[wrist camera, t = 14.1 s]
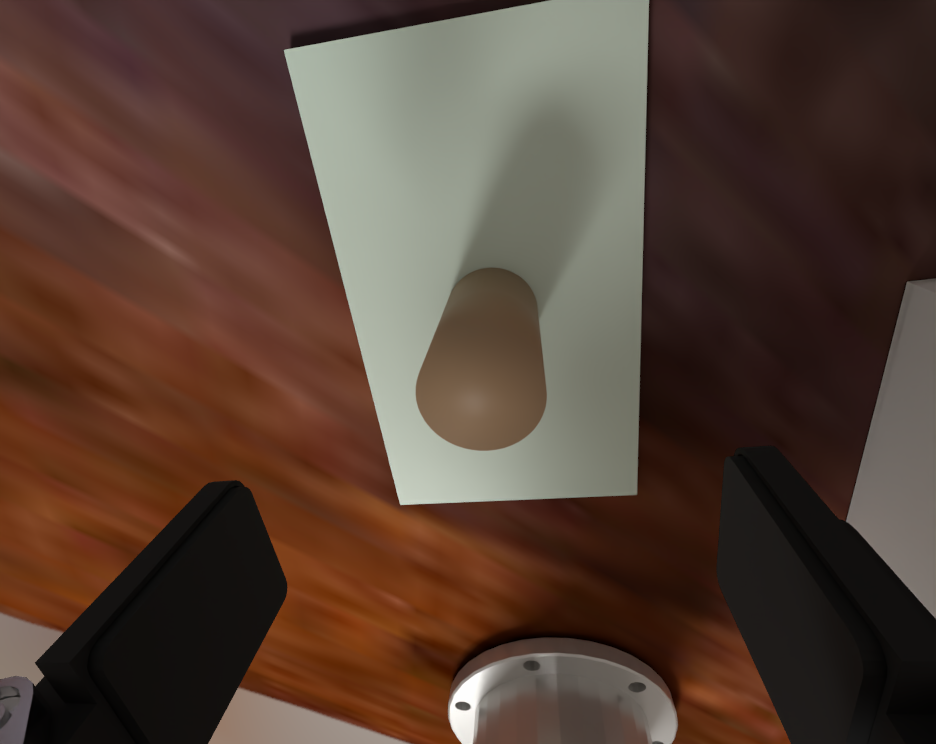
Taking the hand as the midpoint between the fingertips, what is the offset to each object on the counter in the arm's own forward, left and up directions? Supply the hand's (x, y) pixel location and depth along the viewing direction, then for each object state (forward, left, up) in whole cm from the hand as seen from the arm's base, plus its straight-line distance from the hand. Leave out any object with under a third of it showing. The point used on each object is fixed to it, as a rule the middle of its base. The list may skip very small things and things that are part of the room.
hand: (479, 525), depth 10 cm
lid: (+1, 0, -10) cm, 10 cm away
